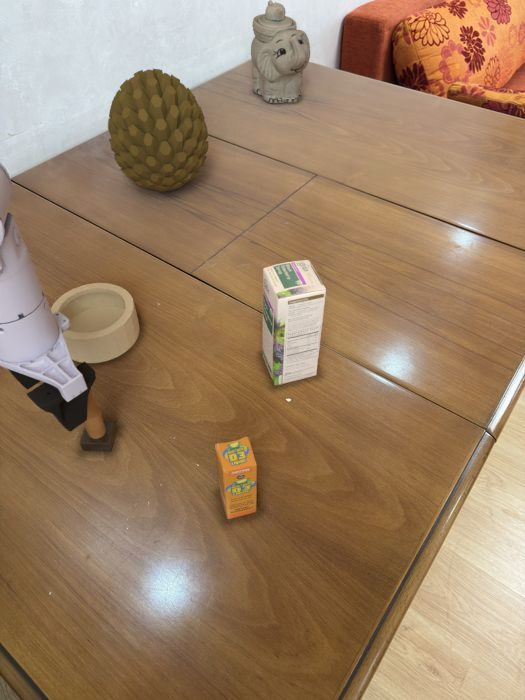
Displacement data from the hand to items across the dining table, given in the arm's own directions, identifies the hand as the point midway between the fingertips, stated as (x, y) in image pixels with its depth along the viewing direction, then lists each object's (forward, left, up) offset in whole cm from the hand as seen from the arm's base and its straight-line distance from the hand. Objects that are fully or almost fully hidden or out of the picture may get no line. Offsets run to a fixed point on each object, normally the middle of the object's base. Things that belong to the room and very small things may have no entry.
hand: (55, 402), depth 54 cm
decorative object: (-20, +54, -9) cm, 58 cm away
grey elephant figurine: (-15, +99, -9) cm, 101 cm away
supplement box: (+19, +1, -9) cm, 22 cm away
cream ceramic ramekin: (-9, +17, -9) cm, 21 cm away
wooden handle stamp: (+2, +2, -9) cm, 9 cm away
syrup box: (+17, +21, -9) cm, 29 cm away
